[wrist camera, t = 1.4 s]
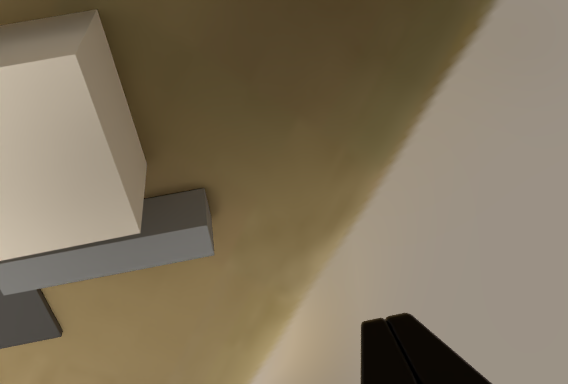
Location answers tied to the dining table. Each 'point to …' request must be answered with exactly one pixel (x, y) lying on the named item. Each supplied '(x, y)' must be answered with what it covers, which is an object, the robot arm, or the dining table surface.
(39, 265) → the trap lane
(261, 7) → the dining table surface
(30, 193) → the block
